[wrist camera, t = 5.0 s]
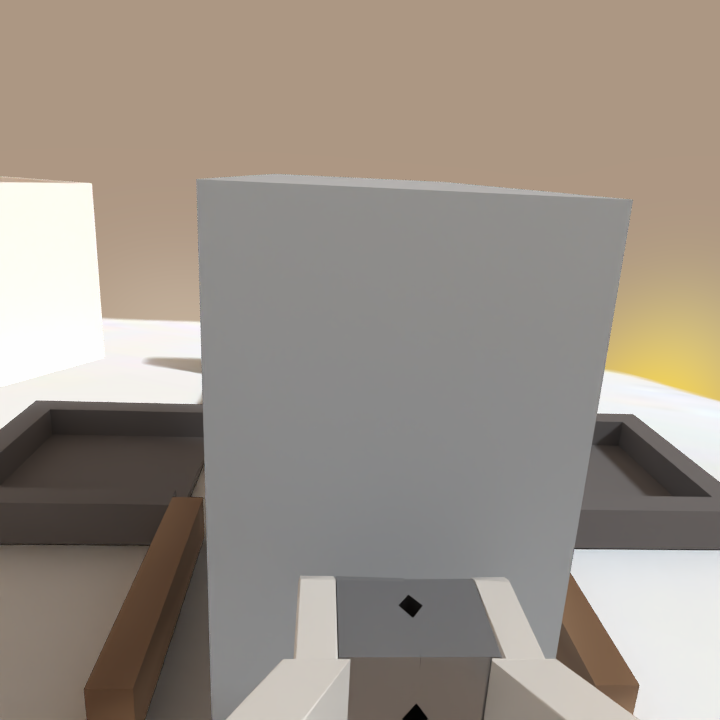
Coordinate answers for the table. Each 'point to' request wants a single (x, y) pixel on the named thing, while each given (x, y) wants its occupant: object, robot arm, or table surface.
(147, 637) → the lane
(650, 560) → the table surface
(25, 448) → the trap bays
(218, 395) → the slate block
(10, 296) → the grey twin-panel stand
